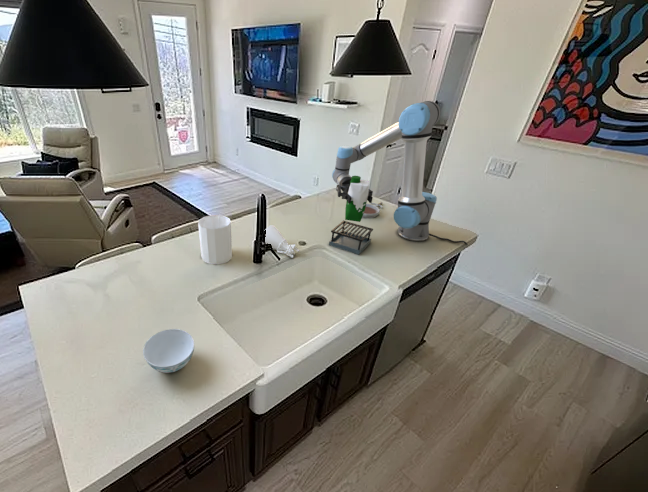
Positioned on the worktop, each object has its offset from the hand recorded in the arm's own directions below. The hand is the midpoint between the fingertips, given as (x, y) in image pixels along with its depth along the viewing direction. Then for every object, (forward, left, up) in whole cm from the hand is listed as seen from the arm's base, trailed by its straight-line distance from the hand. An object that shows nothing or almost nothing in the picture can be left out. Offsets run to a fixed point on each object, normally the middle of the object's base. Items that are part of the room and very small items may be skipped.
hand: (360, 200), depth 149 cm
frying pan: (+9, -51, -25) cm, 58 cm away
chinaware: (+16, +102, -25) cm, 106 cm away
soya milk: (+3, -3, -11) cm, 12 cm away
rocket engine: (+27, +25, -25) cm, 45 cm away
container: (+48, +46, -25) cm, 71 cm away
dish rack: (+2, -3, -25) cm, 25 cm away
